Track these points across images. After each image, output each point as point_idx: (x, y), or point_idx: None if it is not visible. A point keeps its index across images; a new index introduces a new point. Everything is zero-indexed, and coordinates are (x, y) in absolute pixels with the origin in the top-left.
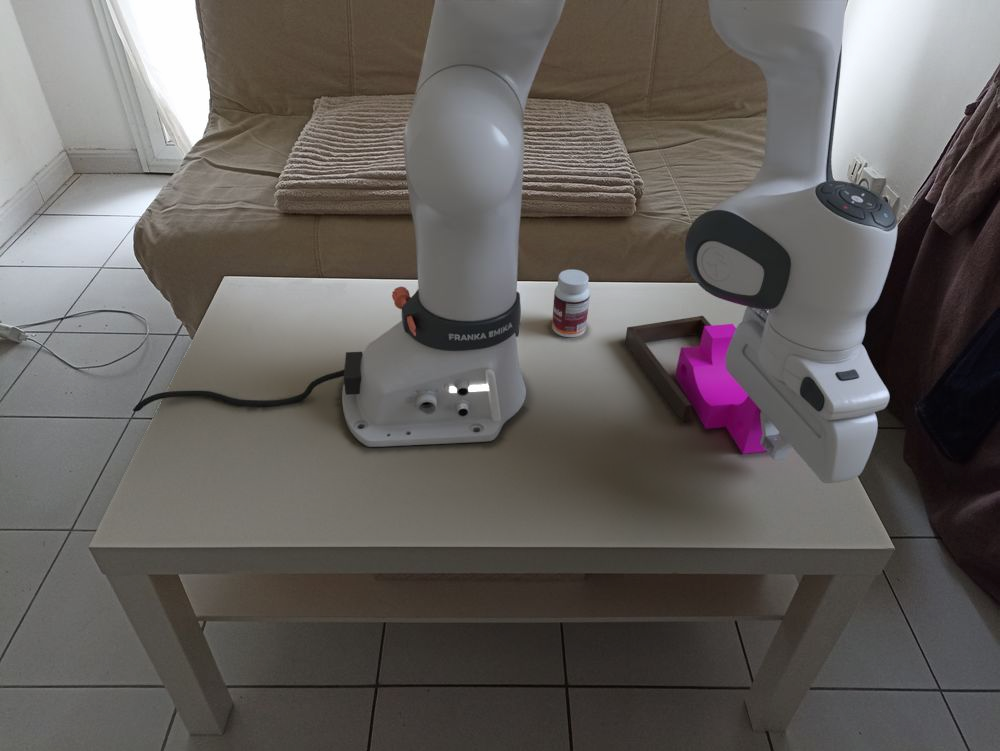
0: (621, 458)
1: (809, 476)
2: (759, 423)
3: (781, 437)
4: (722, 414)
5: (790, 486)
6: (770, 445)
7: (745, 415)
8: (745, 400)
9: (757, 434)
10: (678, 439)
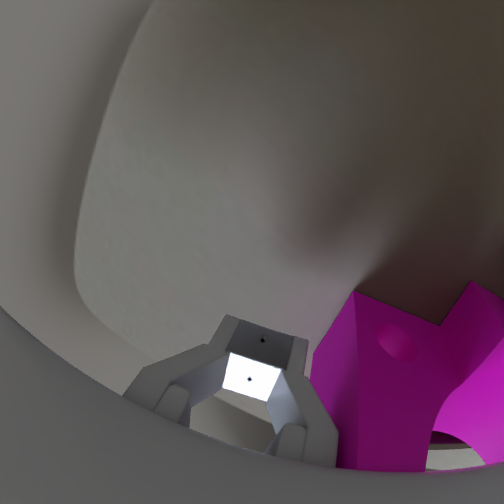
0: (491, 8)
1: None
2: (342, 396)
3: (168, 390)
4: (465, 341)
5: (205, 294)
6: (247, 348)
7: (403, 389)
8: (428, 436)
9: (340, 360)
10: (494, 183)
